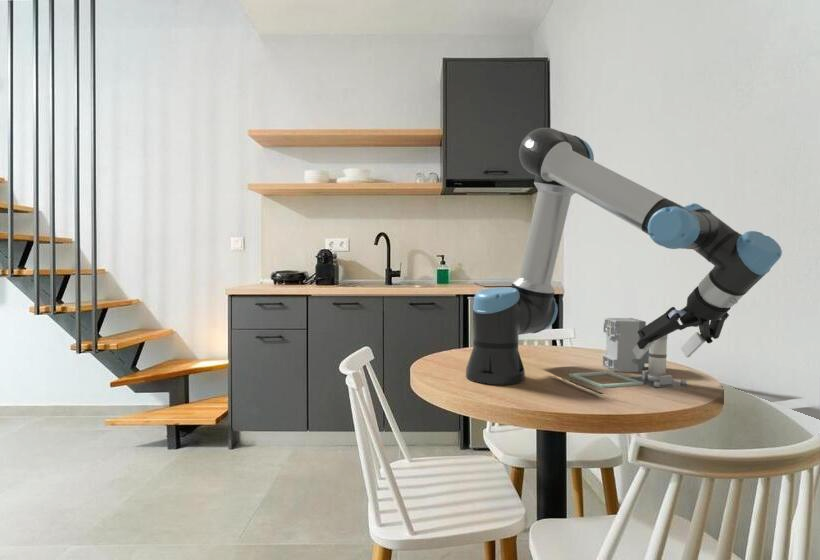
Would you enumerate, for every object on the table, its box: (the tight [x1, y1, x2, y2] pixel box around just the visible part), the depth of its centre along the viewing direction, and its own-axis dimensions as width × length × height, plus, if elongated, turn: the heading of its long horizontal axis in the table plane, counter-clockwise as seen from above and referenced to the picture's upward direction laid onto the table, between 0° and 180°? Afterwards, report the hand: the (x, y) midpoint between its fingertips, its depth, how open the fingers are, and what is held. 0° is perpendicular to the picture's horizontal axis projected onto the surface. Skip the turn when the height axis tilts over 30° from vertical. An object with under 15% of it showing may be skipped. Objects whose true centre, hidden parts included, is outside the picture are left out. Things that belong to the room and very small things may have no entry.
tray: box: [568, 370, 644, 395], centre depth 115 cm, size 12×12×2 cm
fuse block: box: [628, 369, 690, 389], centre depth 114 cm, size 10×10×4 cm
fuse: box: [647, 334, 668, 383], centre depth 114 cm, size 4×4×12 cm
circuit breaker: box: [602, 317, 649, 373], centre depth 128 cm, size 8×14×15 cm, turn 89°
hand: (660, 353), depth 114 cm, fingers open, 13 cm apart
